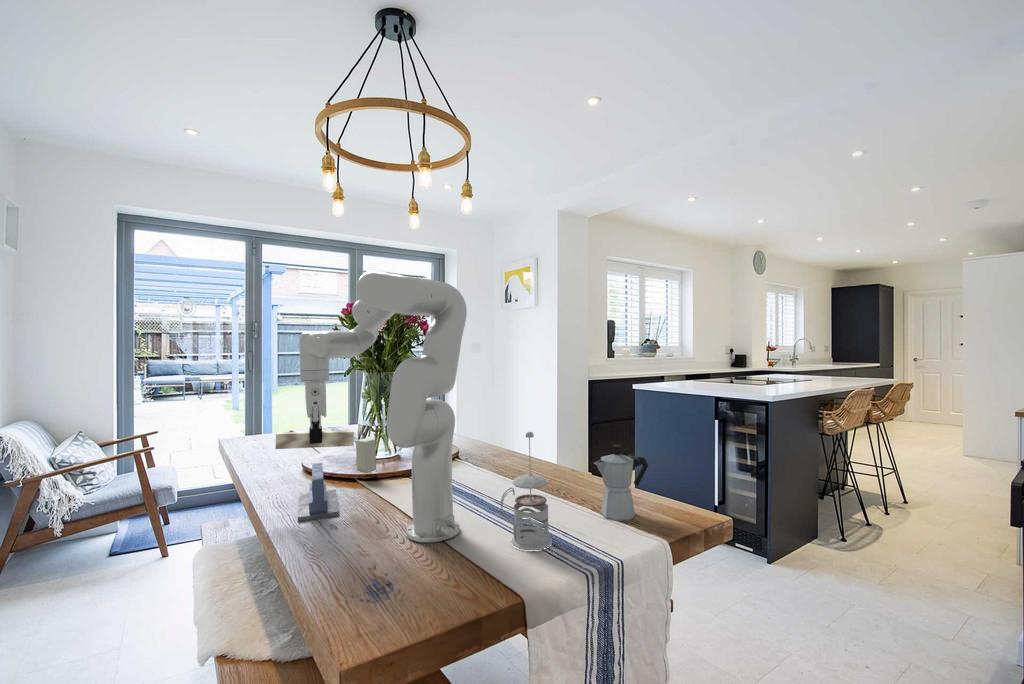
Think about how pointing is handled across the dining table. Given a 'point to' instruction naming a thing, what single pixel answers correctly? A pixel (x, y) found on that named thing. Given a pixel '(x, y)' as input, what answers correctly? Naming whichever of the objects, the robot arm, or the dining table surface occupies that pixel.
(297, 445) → the beam
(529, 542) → the french press
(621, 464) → the coffee maker
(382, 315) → the robot arm
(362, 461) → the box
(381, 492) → the dining table surface
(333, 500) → the fulcrum
